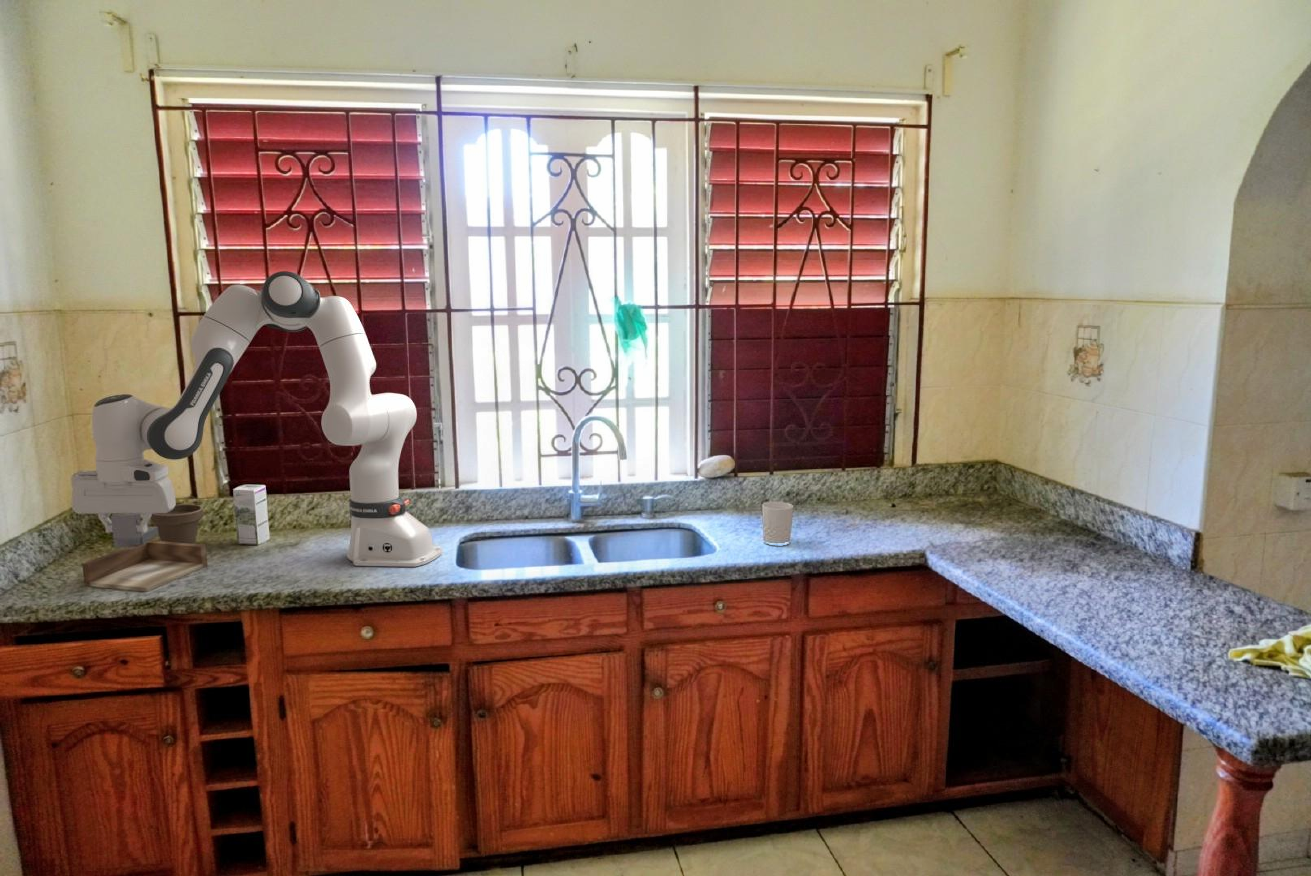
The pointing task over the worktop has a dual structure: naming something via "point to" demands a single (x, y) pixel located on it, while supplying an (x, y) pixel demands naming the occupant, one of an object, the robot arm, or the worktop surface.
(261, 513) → the syrup box
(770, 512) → the white cup
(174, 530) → the flower pot
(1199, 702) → the worktop surface
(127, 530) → the angle bracket
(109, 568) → the corner arena
